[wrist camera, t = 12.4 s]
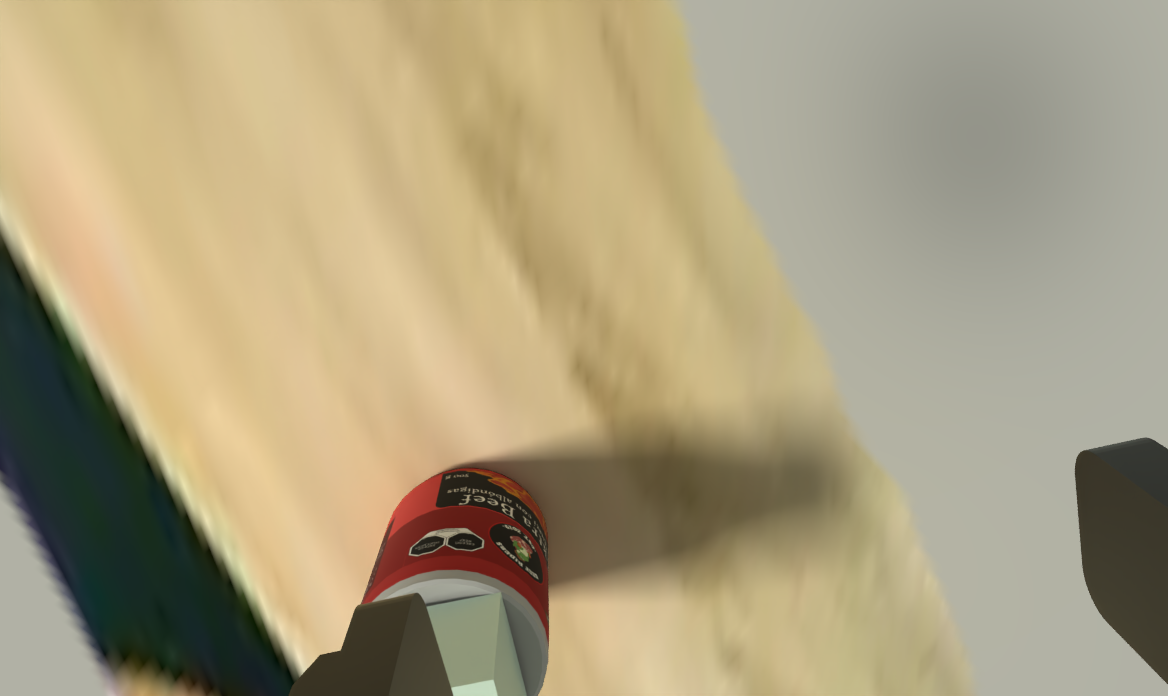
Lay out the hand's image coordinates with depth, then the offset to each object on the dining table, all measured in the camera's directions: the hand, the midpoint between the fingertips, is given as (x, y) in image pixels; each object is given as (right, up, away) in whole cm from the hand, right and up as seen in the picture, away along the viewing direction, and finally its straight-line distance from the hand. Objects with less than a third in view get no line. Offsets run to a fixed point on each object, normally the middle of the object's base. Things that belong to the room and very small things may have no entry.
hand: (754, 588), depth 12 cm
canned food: (-8, -6, +37) cm, 39 cm away
